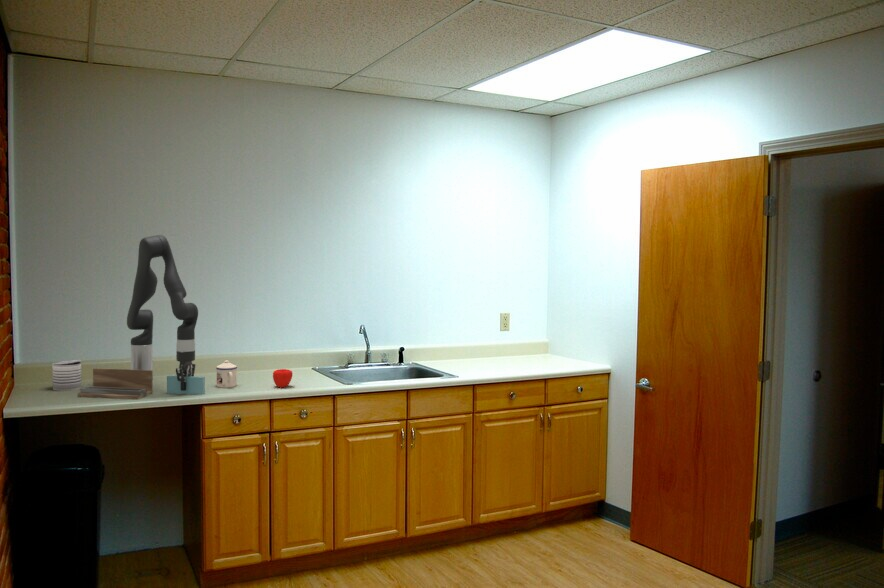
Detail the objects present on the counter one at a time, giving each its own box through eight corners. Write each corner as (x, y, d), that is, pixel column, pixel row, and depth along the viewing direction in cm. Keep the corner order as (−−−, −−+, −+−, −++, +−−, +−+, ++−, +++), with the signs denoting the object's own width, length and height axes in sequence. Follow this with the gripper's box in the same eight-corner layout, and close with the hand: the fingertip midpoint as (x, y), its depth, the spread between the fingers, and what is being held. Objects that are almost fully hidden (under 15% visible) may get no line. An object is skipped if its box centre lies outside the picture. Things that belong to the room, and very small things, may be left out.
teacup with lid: (213, 385, 321) (213, 359, 320) (233, 383, 326) (233, 358, 325) (221, 389, 311) (221, 363, 310) (241, 388, 316) (241, 362, 315)
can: (67, 391, 300) (66, 363, 299) (45, 389, 303) (45, 361, 302) (87, 386, 311) (87, 360, 310) (67, 385, 314) (67, 358, 313)
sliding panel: (169, 392, 303) (169, 375, 303) (204, 394, 302) (204, 376, 301) (166, 393, 301) (166, 376, 301) (202, 394, 300) (202, 377, 299)
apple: (295, 387, 319) (295, 370, 319) (276, 389, 315) (276, 372, 314) (288, 384, 327) (288, 367, 326) (270, 385, 322) (270, 368, 322)
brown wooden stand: (94, 391, 302) (94, 367, 301) (152, 393, 299) (152, 370, 299) (77, 396, 290) (77, 372, 289) (137, 399, 287) (137, 375, 287)
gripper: (185, 347, 308) (185, 386, 309) (169, 351, 294) (169, 392, 295) (201, 347, 307) (201, 386, 308) (186, 352, 293) (186, 393, 294)
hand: (185, 389), depth 301 cm, fingers open, 3 cm apart
